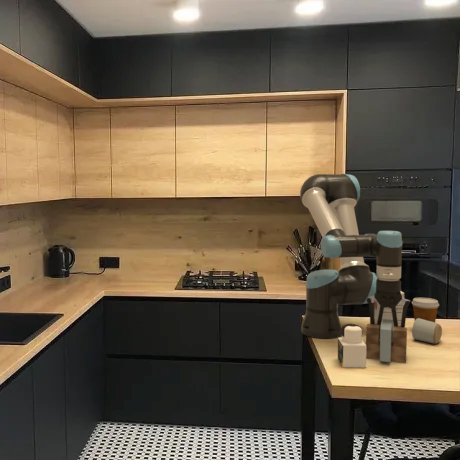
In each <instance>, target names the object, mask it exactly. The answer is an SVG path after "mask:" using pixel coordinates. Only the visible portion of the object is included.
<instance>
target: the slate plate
mask: <svg viewBox="0 0 460 460" xmlns="http://www.w3.org/2000/svg"><path fill="white" fill-rule="evenodd" d="M392 327H393V320H390V319H383V321H382V325H381V330H380V340H379V341H380V360H379V361H380V362H384V363H391V361H390V360H391V342H392Z"/></svg>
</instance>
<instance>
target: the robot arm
mask: <svg viewBox="0 0 460 460" xmlns="http://www.w3.org/2000/svg"><path fill="white" fill-rule="evenodd" d="M299 196H300V200H301V203H302V204H303V206H304V207H305V208H307V209H308V211H309V213H310V215H311V217H312V218H313V221H314V223H315V226H316V227H317V229H318V231H319V234H320V235H321V236H322V238H321V239H320V240H321V241H320V251H321V254H322V256H323V257H324V258H333V259H338V258H339V259H340V260H339V261H340V268H339V269H338V270H336V269H326V268H325V269H319V270H314V271H311V272H310V273H308V274H307V276H306V284H305V288H306V291H305V292H306V293H305V294H306V295H305V298H306V299H305V301H306V302H305V308H306V309H305V314H304V317H303V319H302V322H301V327H300V331H301V333H302V334H303V335H305V336H306V337H311V338H313V339H314V338H315V339H336V338H340V337H342V326H343V325H342V323H341V319H340V317H339V313H338V312H339V310H338V309H339V307H338V306H339V305H340V306H343V305H364V304H368V309H369V310H368V312H369V324H375V319H374V318H375V299H376V300H377V302H378V303H379V304H380V310H379V316H378V321H377V324H375V325H380V327H381V322H382V316H383V311H384V308H386V307H389V308H391V311H392V317H393V324H394V326H395V327H405V326H406V318H407V312H408V307H409V306H410V303H411V301H410V299H406V298H405V297H404V298H402V295H401V291H402V287H401V286H402V281H401V280H400V279H401V278H402V257H403V256H402V255H403V254H402V252H403V242H402V241H403V239H402V237H403V236H402V232H400V231H397V230H379V231H378V232H377V234H376V233H365V234H359V228H358V222H357V218H356V213H355V212H356V211H355V206H356V205H357V203H358V201H359V200H360V197H361V187H360V183H359V181H358V178H357V177H356V176H355V175H353V174H349V173H348V174H347V173H341V174H339V173H335V174H334V173H333V174H331V173H328V174H327V173H317V174H313V175H311V176H309V177H308V178H307V179H305V180H304V182H303V183H302V185H301V187H300V191H299ZM369 257H370V258H376V273H375V272H372V271H371V270H370V266H369V265H368V264H366V263H365V259H364V258H369ZM400 301H402V305H403V311H402V319H401V326H398V320H397V313H396V306H397V304H398V303H399V302H400ZM405 328H406V327H405ZM380 330H381V329H380ZM393 340H394V330H392V342H393ZM379 341H380V336H379Z"/></svg>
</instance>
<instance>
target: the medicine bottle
mask: <svg viewBox="0 0 460 460" xmlns="http://www.w3.org/2000/svg"><path fill="white" fill-rule="evenodd" d="M341 326H342V335H341V337H337V360H338V362H339V363H340V366H341V367H342V368H343V369H344V368H346V369H347V368H350V369H351V368H354V369H355V368H356V369H359V368H363V369H364V368H366V367H367V358H366V342H364V340H363V327H362V326H361V325H359V324H356V323H345V324H343V325H341Z"/></svg>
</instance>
